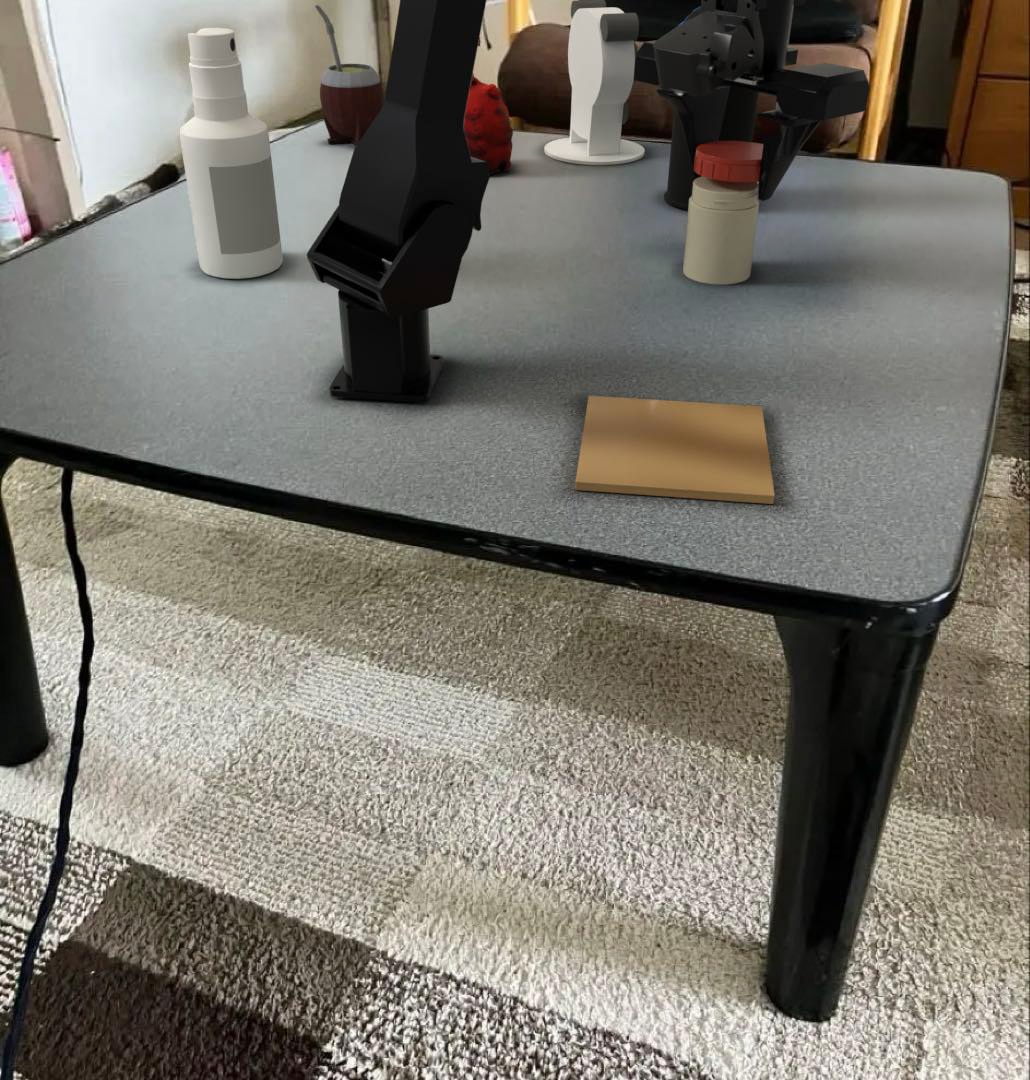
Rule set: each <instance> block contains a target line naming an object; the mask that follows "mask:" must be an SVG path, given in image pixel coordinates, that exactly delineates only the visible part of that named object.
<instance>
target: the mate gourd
mask: <svg viewBox="0 0 1030 1080" xmlns="http://www.w3.org/2000/svg"><path fill="white" fill-rule="evenodd" d="M314 8H315V9H316V10H317V12H318V13H319V15H320V17H321V18H322V19H323V21H324V24H325V30H326V34H327V35H328V37H329V40H330V46H331V50H332V53H333V58H334V62H335V64H333V65H330V66H328V67H327V68H326V69H325V70H324V72H323V74H322V76H321V78H320V86H319V98H320V105H321V111H322V112H321V113H322V117H323V118H322V119H323V121H324V124H325V127H326V130H327V133H328V136H329V138H327V143H328V145H339V144H352V145H354V148H355V147H356V145H357V144H358V143H359V141H360V140H361V138H362V137H363V135H364V134H365V132H366V131H367V130H368V128H369V127H370V125H371V124H372V122H373V121H374V120H375V118H376V117H377V115H378V114H379V112H380V111H381V109H382V106H383V102H384V91H383V86H382V81H381V78H380V76H379V74H378V72H377V71H376V70H375V69H374V67H373V66H371V65H370V64H364V63H341V59H340V55H339V50H338V45H337V41H336V38H335V30H334V25H333V23H331V20H330V18H329V16H328V14H327V13H326V12H325V10H323V8H322V7H321V6H320V5H318V4H315V6H314Z"/></svg>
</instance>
